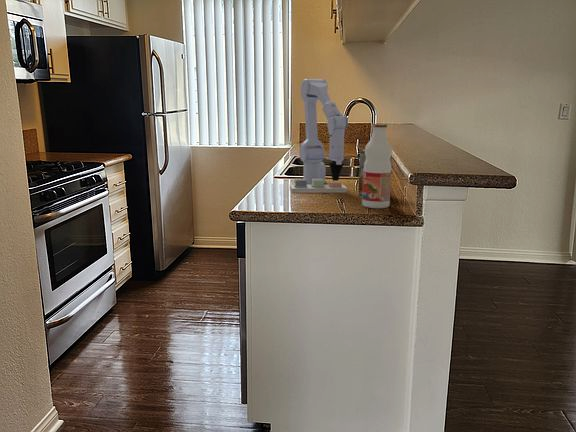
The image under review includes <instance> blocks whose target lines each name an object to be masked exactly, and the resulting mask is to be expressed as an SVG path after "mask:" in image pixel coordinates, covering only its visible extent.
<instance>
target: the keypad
mask: <svg viewBox="0 0 576 432" xmlns="http://www.w3.org/2000/svg"><path fill="white" fill-rule="evenodd" d="M289 191H291V193H295V194H296V193H297V194H298V193H299V194H300V193H303V194H304V193H307V194H310V193H314V194H315V193H320V194H321V193H322V194H323V193H332V194H333V193H336V194H337V193H340V194H341V193H348V188H347V186H345V185H344V184H343V183H342V187H329V183H328V184H325V183H324V186H313V185H312V184H308V183H307V186H295V183H294V184H292V183H291V184H289Z"/></svg>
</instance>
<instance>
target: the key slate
mask: <svg viewBox="0 0 576 432" xmlns="http://www.w3.org/2000/svg"><path fill="white" fill-rule="evenodd" d="M294 184H295V186H307V184H308V183H307V180H306V179H303V178H295V179H294Z"/></svg>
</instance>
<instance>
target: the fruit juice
mask: <svg viewBox="0 0 576 432" xmlns="http://www.w3.org/2000/svg"><path fill="white" fill-rule="evenodd" d="M371 126H372V127H371V128H372V134H371V138H370V140H369V141H368V142H367V144H366V145H365V147H364V152H365V156H366V160H365V162H364V169H363V192H362V195H361V196H362V197H361V203H362V206H363V207H365V208H369V209H385V208H389V207H390V204H391V183H392V171H393V170H392V161H391V157H392V154H393V148H392V147H393V146H391V143H390V142H389V140H388V137H387V129H388V124H387V123H372V125H371Z"/></svg>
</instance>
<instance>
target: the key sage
mask: <svg viewBox="0 0 576 432" xmlns="http://www.w3.org/2000/svg"><path fill="white" fill-rule="evenodd" d="M324 184H325V182H324V179H312V185H313V186H324Z"/></svg>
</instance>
